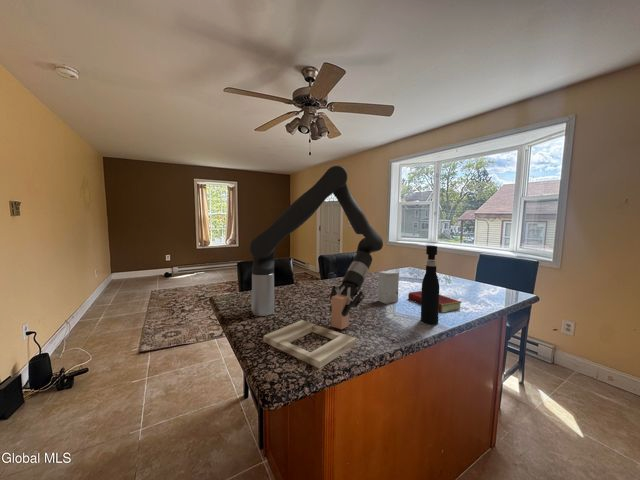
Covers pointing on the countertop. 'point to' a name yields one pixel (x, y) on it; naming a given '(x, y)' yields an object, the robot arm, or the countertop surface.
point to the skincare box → (388, 287)
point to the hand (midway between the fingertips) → (337, 313)
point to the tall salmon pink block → (339, 312)
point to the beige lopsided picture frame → (319, 355)
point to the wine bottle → (430, 290)
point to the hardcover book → (444, 302)
